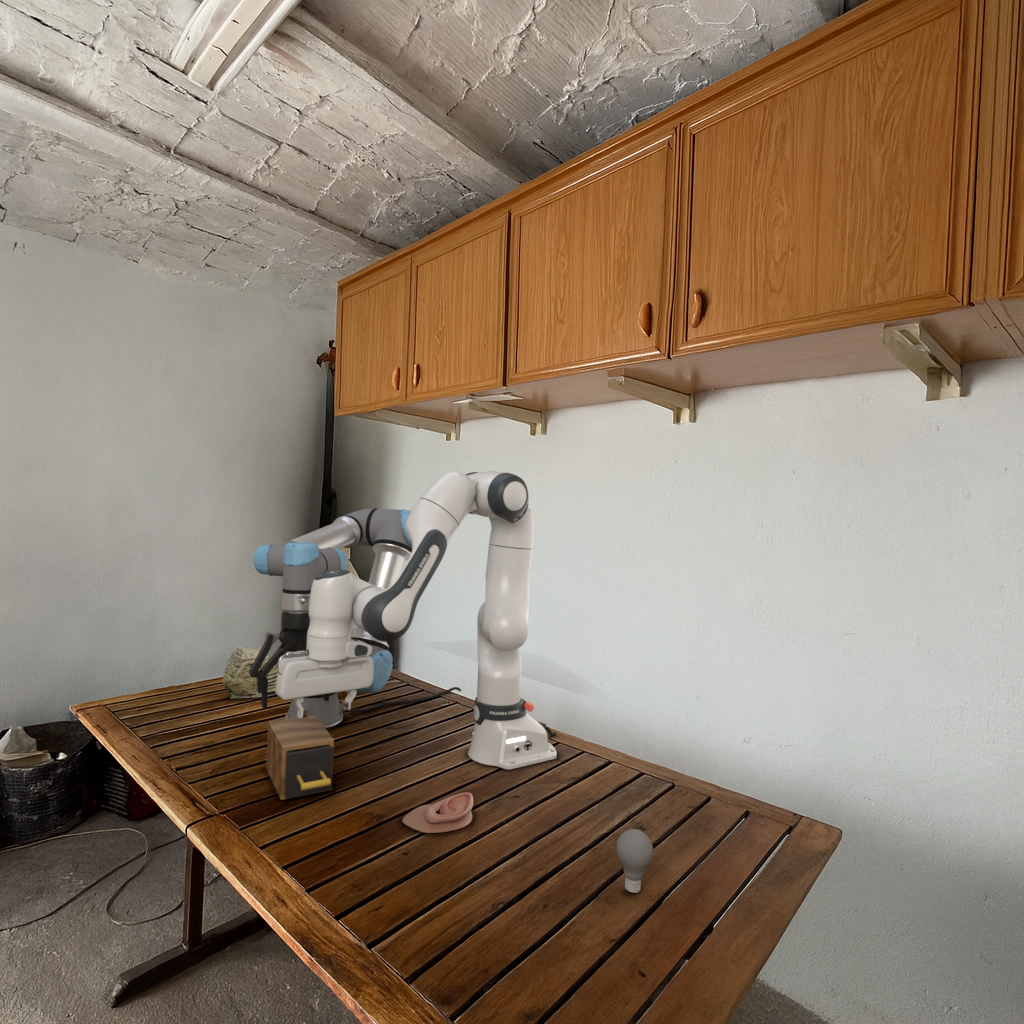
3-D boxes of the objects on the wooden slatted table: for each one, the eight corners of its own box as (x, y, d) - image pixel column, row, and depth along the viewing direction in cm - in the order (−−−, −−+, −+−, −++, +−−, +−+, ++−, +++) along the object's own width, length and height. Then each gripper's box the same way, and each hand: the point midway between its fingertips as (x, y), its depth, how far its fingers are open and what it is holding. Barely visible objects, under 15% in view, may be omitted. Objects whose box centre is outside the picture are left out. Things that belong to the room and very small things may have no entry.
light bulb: (610, 879, 108) (613, 822, 108) (644, 879, 109) (647, 822, 109) (619, 902, 102) (622, 840, 102) (655, 901, 103) (658, 840, 103)
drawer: (339, 801, 130) (340, 757, 130) (291, 811, 125) (293, 765, 125) (313, 762, 148) (315, 723, 148) (271, 769, 144) (273, 729, 144)
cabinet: (332, 790, 137) (334, 739, 137) (280, 800, 132) (282, 747, 131) (313, 760, 151) (315, 715, 151) (266, 768, 146) (268, 721, 146)
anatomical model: (396, 808, 122) (417, 782, 133) (395, 828, 122) (416, 801, 133) (463, 818, 119) (478, 791, 130) (462, 839, 119) (477, 810, 131)
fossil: (218, 695, 195) (220, 647, 195) (278, 685, 208) (279, 640, 207) (228, 703, 189) (230, 653, 188) (289, 692, 201) (290, 645, 201)
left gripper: (242, 616, 135) (238, 715, 135) (357, 610, 147) (354, 701, 148) (237, 610, 141) (234, 705, 141) (348, 605, 154) (345, 692, 154)
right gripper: (284, 656, 123) (279, 727, 123) (379, 646, 136) (375, 710, 136) (272, 649, 128) (268, 717, 128) (365, 640, 141) (361, 702, 141)
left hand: (295, 703), depth 145 cm, fingers open, 13 cm apart
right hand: (324, 713), depth 132 cm, fingers open, 8 cm apart
